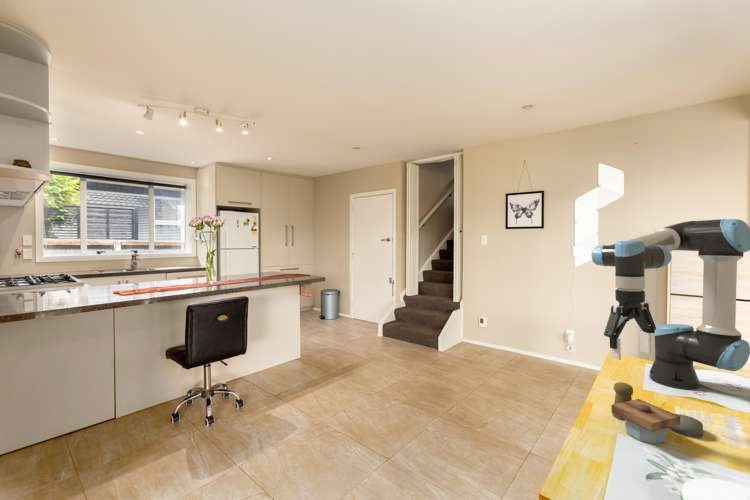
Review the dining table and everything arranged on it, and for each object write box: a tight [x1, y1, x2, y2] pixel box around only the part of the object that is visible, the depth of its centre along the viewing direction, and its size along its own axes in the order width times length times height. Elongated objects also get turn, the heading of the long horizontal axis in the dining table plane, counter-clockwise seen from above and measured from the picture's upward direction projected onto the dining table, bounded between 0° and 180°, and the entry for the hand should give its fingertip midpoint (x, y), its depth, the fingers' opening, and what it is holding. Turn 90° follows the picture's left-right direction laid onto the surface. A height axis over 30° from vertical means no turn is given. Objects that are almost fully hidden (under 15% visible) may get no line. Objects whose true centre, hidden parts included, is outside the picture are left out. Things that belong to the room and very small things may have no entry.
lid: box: [611, 398, 680, 432], centre depth 101 cm, size 12×12×4 cm
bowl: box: [624, 420, 667, 445], centre depth 101 cm, size 9×9×5 cm
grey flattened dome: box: [668, 413, 704, 439], centre depth 103 cm, size 8×8×3 cm
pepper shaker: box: [611, 381, 634, 422], centre depth 111 cm, size 6×6×11 cm
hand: (630, 355), depth 109 cm, fingers open, 13 cm apart
